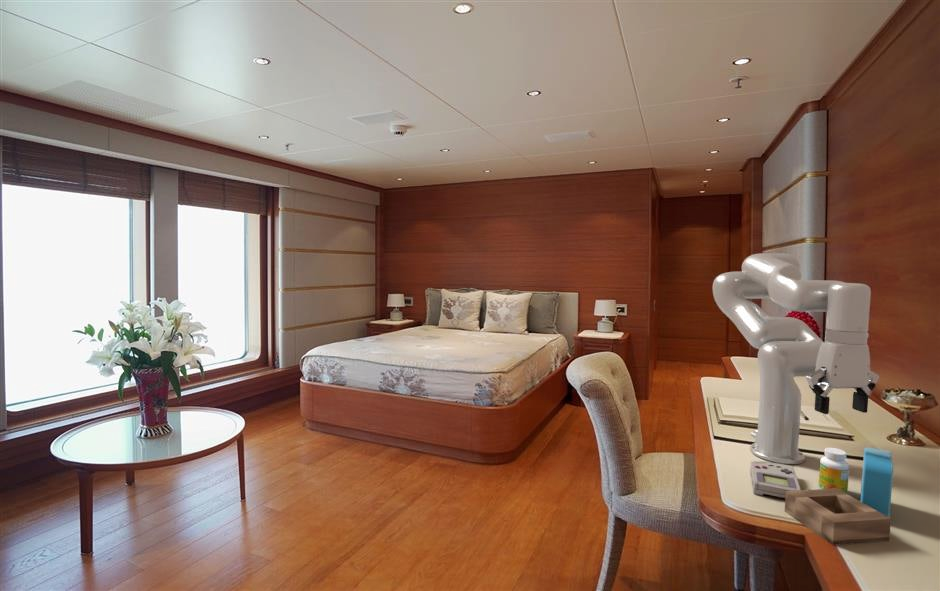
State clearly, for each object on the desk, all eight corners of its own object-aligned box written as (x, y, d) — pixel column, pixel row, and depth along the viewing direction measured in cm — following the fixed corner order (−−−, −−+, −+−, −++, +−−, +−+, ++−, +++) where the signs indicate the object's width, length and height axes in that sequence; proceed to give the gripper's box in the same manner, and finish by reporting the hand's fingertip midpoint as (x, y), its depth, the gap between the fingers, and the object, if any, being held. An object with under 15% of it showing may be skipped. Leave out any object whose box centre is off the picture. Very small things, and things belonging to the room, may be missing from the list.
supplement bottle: (812, 487, 114) (815, 447, 113) (829, 484, 116) (832, 445, 115) (835, 498, 109) (838, 457, 108) (852, 495, 111) (856, 454, 110)
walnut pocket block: (784, 511, 103) (785, 491, 103) (835, 508, 105) (836, 488, 104) (832, 544, 91) (834, 522, 91) (889, 540, 93) (890, 518, 92)
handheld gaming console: (793, 464, 119) (802, 490, 106) (792, 478, 120) (801, 506, 106) (750, 457, 124) (753, 481, 110) (749, 470, 124) (753, 496, 111)
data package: (860, 495, 110) (864, 444, 109) (886, 502, 108) (890, 450, 106) (860, 517, 101) (864, 462, 100) (888, 525, 98) (893, 468, 97)
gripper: (864, 334, 114) (859, 405, 115) (797, 335, 111) (793, 407, 113) (896, 340, 106) (890, 415, 108) (825, 341, 104) (820, 418, 105)
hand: (840, 411), depth 110 cm, fingers open, 9 cm apart
